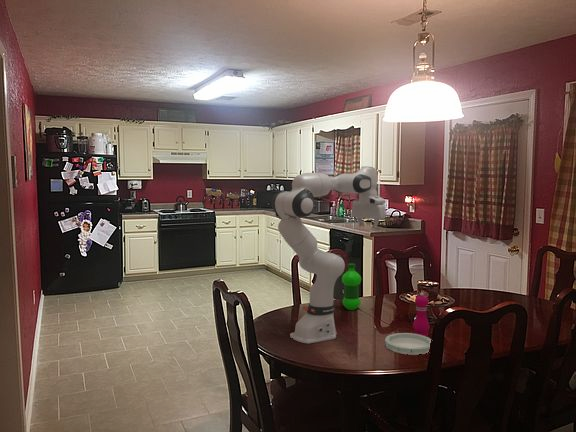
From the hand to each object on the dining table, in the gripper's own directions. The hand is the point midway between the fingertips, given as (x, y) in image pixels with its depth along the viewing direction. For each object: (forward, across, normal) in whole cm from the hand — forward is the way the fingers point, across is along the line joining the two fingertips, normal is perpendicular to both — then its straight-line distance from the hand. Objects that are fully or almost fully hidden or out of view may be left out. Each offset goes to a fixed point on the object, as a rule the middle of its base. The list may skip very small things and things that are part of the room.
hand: (367, 227), depth 242 cm
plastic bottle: (+48, -21, +9) cm, 53 cm away
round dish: (+48, +36, -12) cm, 61 cm away
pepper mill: (+48, +30, +4) cm, 57 cm away
